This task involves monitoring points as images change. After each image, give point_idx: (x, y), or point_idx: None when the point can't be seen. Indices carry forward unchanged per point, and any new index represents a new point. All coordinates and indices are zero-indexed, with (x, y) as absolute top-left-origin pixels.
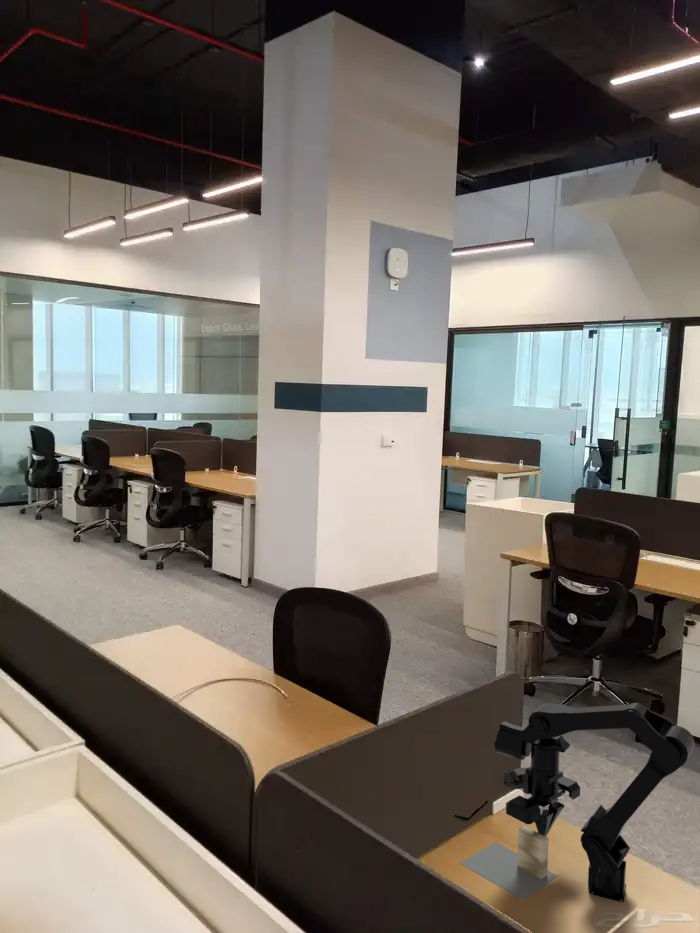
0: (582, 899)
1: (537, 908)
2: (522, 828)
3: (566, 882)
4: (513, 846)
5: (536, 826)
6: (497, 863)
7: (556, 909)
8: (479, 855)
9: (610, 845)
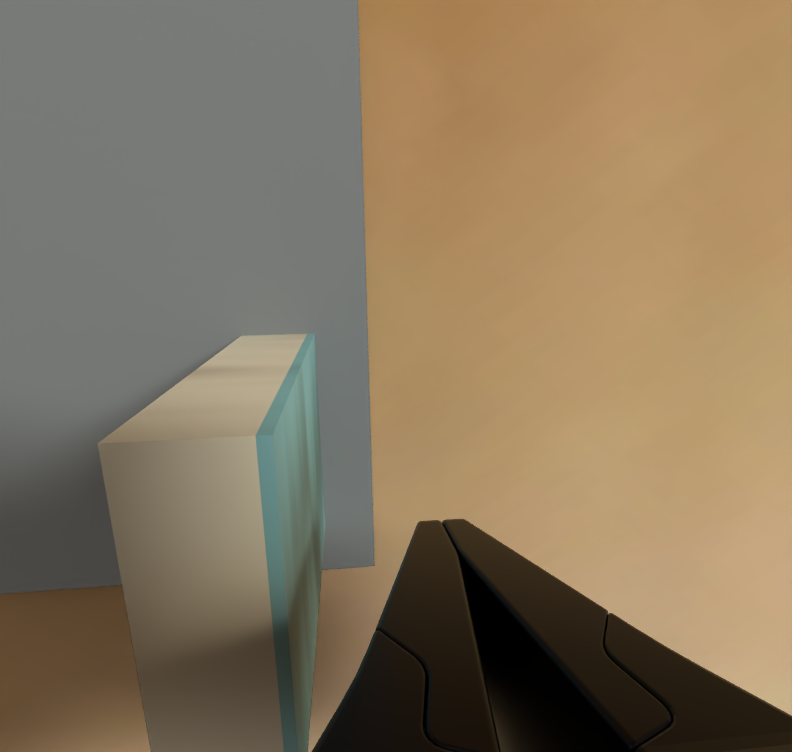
0: (325, 727)
1: (36, 653)
2: (181, 469)
3: (385, 601)
4: (452, 129)
5: (390, 594)
6: (125, 215)
7: (130, 709)
8: (68, 21)
9: None
